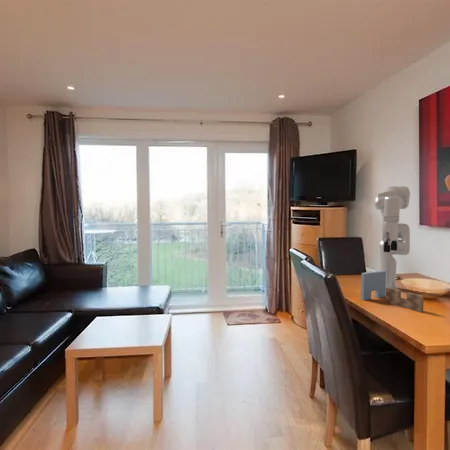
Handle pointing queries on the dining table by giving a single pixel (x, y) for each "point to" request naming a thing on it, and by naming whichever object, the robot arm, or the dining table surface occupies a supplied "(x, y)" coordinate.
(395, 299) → the mottled stone notched panel
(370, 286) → the slate slotted plate
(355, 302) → the dining table surface
